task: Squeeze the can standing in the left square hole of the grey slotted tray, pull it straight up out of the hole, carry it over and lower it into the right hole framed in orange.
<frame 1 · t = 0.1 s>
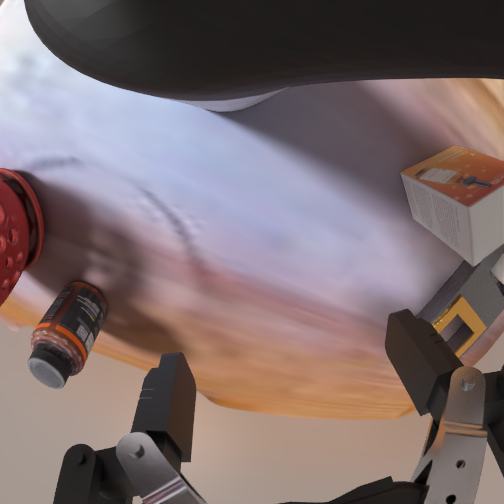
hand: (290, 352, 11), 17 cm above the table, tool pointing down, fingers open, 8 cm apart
can: (501, 254, 31), resting in grey slotted tray
supplement bottle: (86, 300, 30), on the table
plant pot: (11, 214, 24), on the table
small box: (432, 180, 26), on the table
grey slotted tray: (472, 294, 33), on the table
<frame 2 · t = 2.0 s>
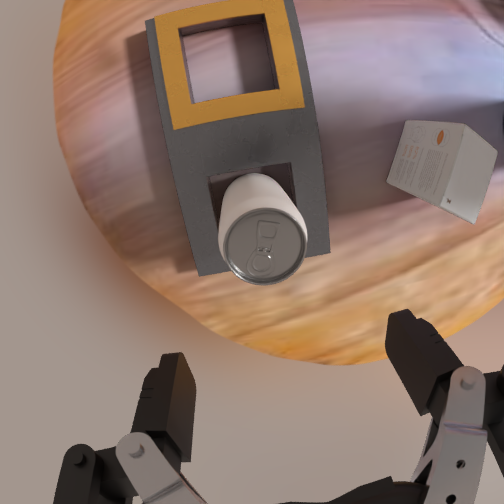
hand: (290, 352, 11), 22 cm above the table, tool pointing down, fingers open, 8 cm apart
can: (253, 202, 31), resting in grey slotted tray
small box: (412, 158, 30), on the table
grey slotted tray: (241, 131, 28), on the table
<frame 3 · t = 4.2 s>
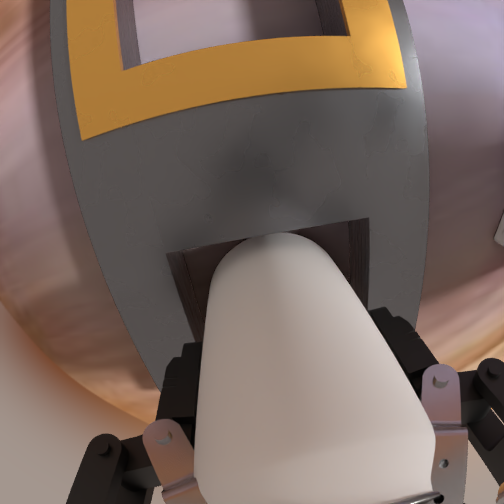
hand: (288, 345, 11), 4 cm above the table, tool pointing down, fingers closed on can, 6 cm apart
can: (274, 287, 15), resting in grey slotted tray, touching gripper
grey slotted tray: (249, 137, 12), on the table
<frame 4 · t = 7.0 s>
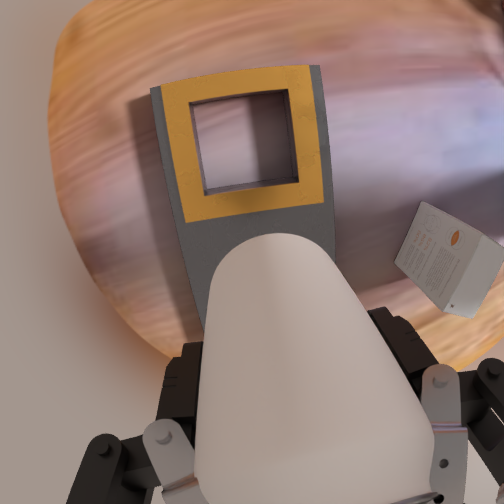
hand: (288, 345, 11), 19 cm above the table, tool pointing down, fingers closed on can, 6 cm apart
can: (274, 287, 15), point 14 cm above the table, touching gripper
small box: (422, 237, 31), on the table
grey slotted tray: (255, 218, 28), on the table
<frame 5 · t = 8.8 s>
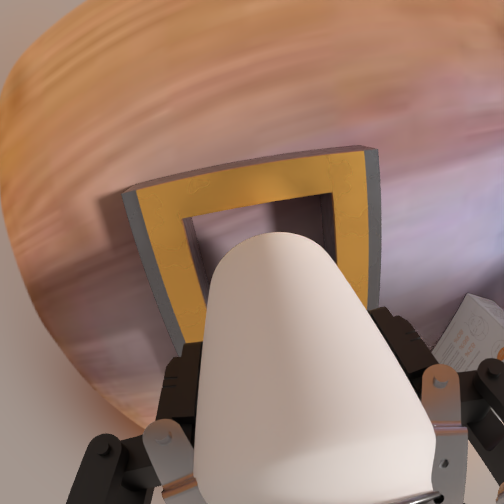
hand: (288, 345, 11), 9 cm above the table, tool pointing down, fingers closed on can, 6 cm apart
can: (274, 287, 15), point 4 cm above the table, touching gripper
small box: (460, 326, 24), on the table
grey slotted tray: (278, 339, 22), on the table
when the fingers open (6 cm above the table, at t = 10.0 s): can drops 1 cm, resting in grey slotted tray.
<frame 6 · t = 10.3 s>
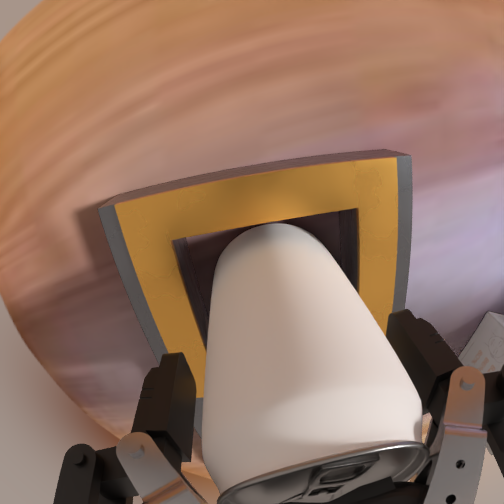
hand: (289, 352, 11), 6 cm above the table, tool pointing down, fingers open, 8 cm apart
can: (273, 275, 16), resting in grey slotted tray
small box: (477, 345, 21), on the table
grey slotted tray: (285, 368, 19), on the table
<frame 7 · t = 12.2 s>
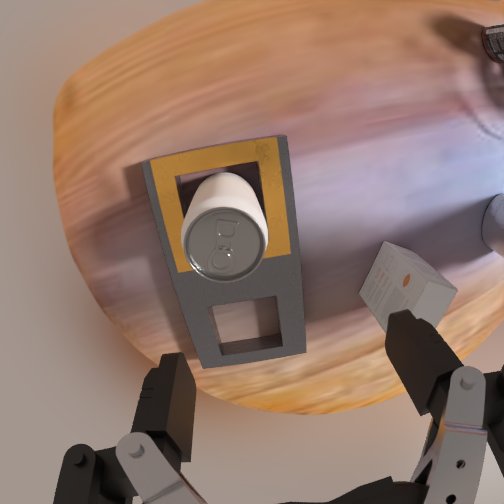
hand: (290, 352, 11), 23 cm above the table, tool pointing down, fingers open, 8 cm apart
can: (224, 201, 31), resting in grey slotted tray
supplement bottle: (491, 45, 23), on the table
small box: (385, 270, 37), on the table
grey slotted tray: (235, 264, 34), on the table
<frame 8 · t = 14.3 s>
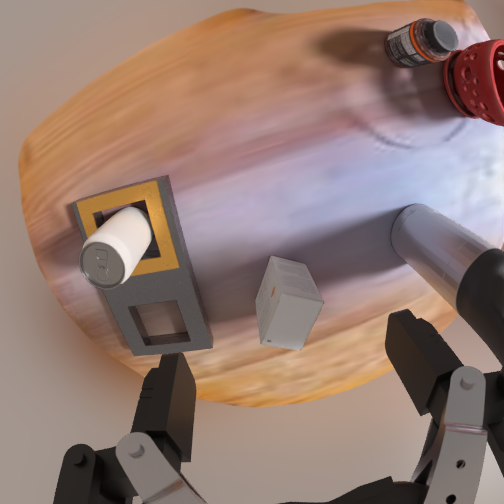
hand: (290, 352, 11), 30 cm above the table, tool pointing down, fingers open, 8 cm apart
can: (133, 227, 40), resting in grey slotted tray
supplement bottle: (399, 50, 31), on the table
plant pot: (464, 83, 32), on the table
small box: (279, 281, 44), on the table
grey slotted tray: (147, 274, 42), on the table
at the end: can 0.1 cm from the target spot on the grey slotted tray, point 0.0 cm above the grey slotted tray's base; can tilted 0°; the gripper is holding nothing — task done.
